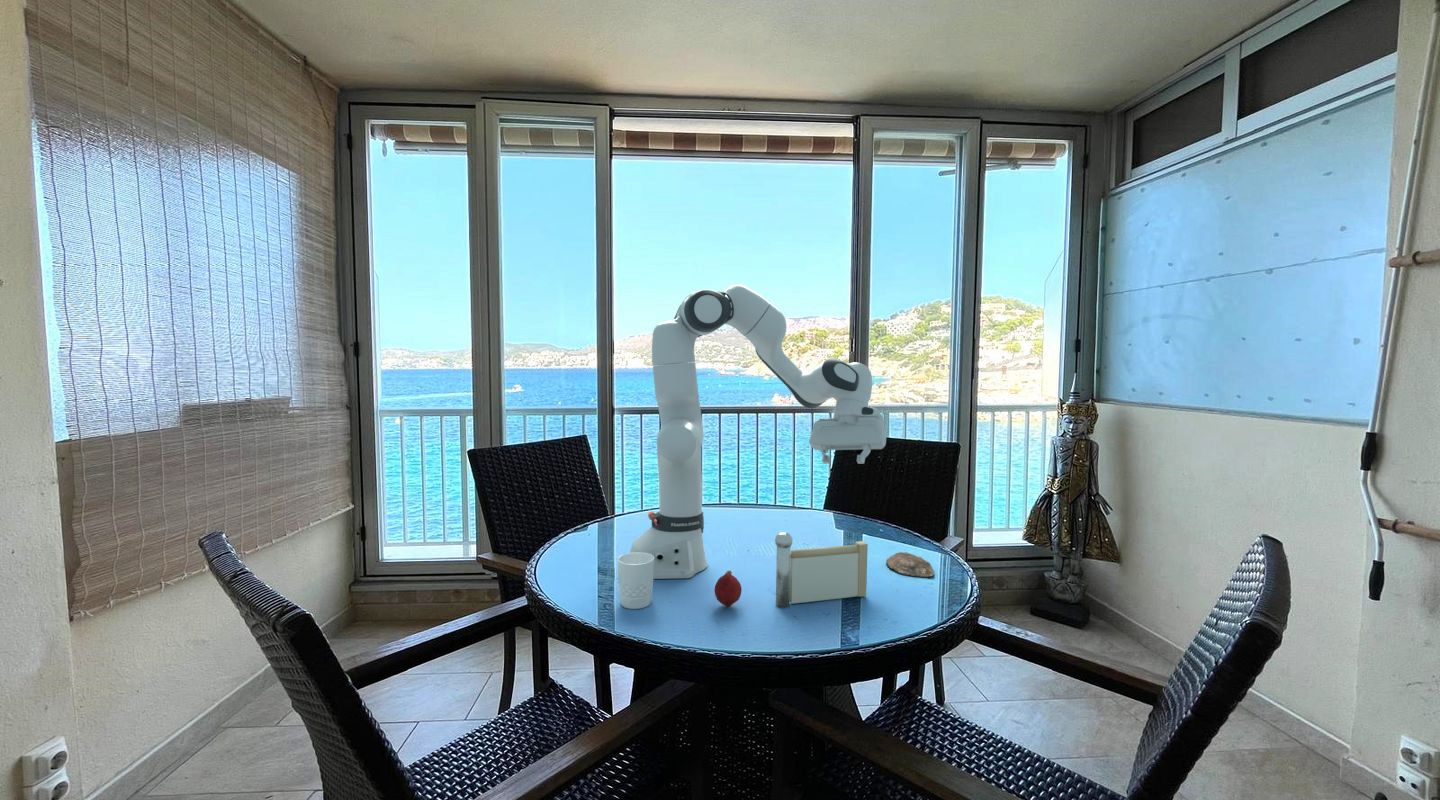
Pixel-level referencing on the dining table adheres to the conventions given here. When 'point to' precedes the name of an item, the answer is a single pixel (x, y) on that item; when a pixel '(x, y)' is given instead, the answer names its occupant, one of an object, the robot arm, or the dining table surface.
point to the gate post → (783, 569)
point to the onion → (727, 589)
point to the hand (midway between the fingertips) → (842, 462)
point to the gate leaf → (828, 573)
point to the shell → (909, 565)
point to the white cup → (636, 579)
